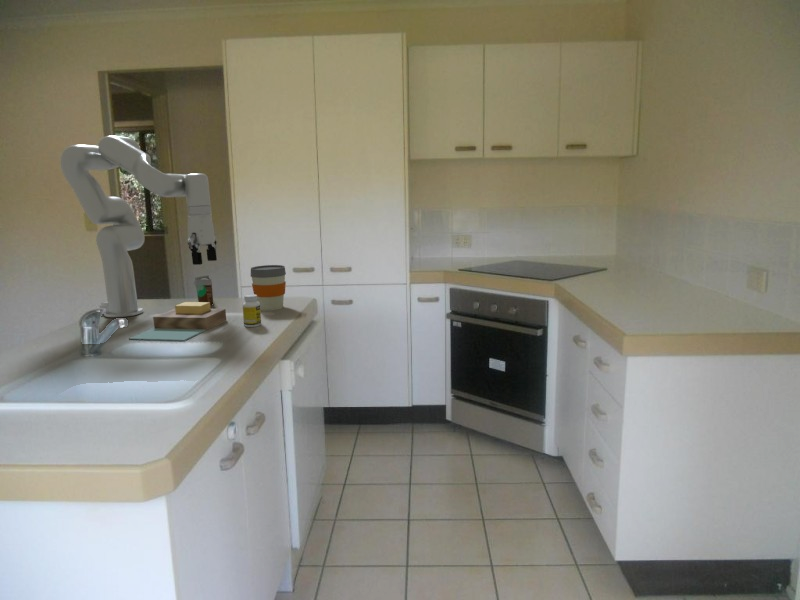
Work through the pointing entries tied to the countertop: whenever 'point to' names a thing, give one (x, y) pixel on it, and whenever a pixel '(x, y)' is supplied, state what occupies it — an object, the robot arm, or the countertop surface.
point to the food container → (204, 289)
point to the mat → (168, 334)
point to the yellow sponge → (193, 307)
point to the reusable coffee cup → (269, 286)
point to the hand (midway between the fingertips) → (205, 262)
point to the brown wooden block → (189, 319)
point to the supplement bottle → (251, 311)
